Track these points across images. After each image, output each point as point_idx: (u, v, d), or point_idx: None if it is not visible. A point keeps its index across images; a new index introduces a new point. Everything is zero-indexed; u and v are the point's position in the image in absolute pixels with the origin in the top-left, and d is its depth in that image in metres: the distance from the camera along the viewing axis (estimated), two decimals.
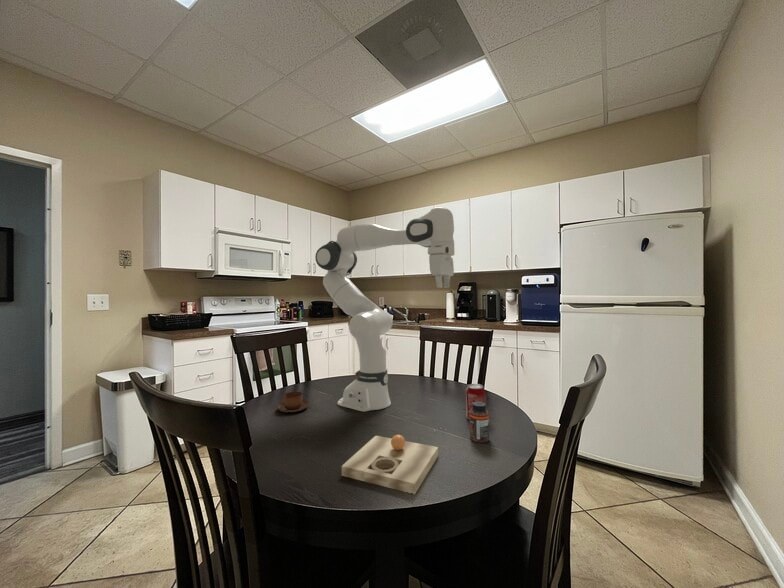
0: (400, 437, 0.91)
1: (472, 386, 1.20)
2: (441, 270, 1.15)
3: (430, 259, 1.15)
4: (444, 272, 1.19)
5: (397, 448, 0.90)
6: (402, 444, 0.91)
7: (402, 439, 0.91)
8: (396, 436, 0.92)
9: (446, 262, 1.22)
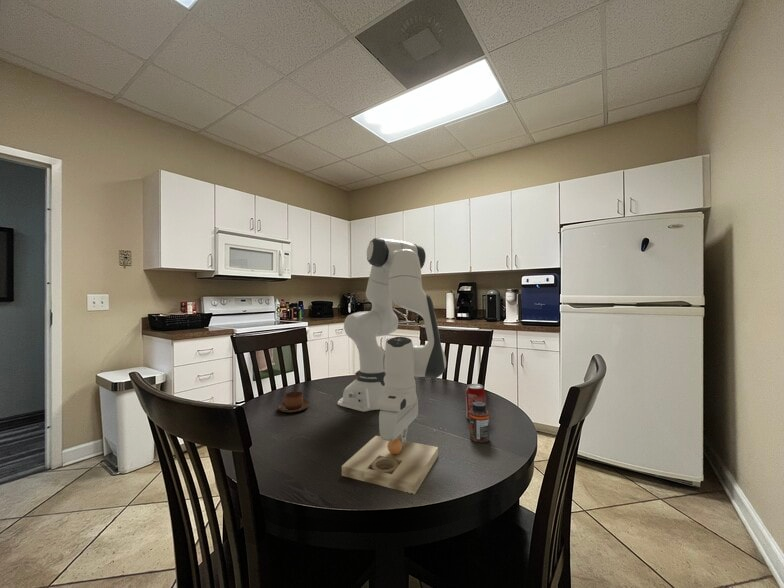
0: (395, 448, 0.88)
1: (472, 386, 1.20)
2: (395, 435, 0.85)
3: (380, 419, 0.86)
4: (401, 431, 0.89)
5: None
6: (399, 451, 0.89)
7: (398, 448, 0.88)
8: (391, 448, 0.88)
9: (405, 411, 0.93)
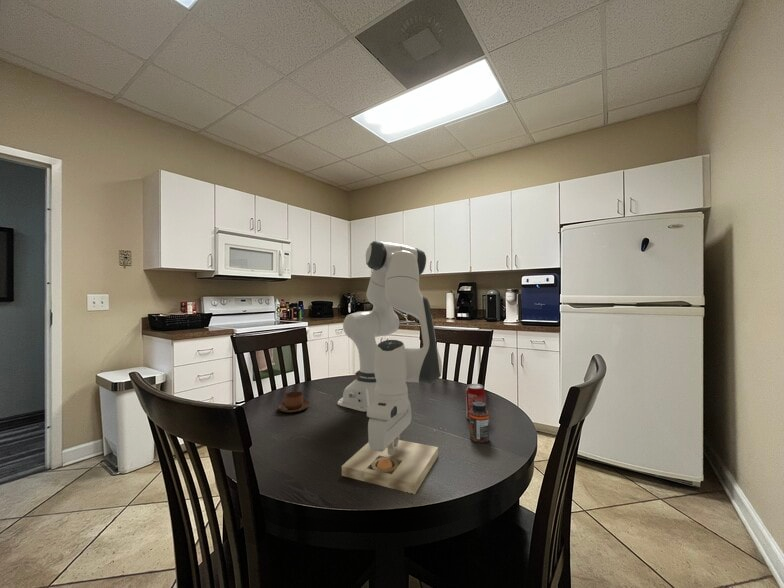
0: (390, 461, 0.85)
1: (472, 386, 1.20)
2: (385, 444, 0.80)
3: (369, 428, 0.80)
4: (391, 440, 0.84)
5: (384, 469, 0.82)
6: (390, 468, 0.83)
7: (391, 464, 0.84)
8: (386, 459, 0.85)
9: (396, 418, 0.87)
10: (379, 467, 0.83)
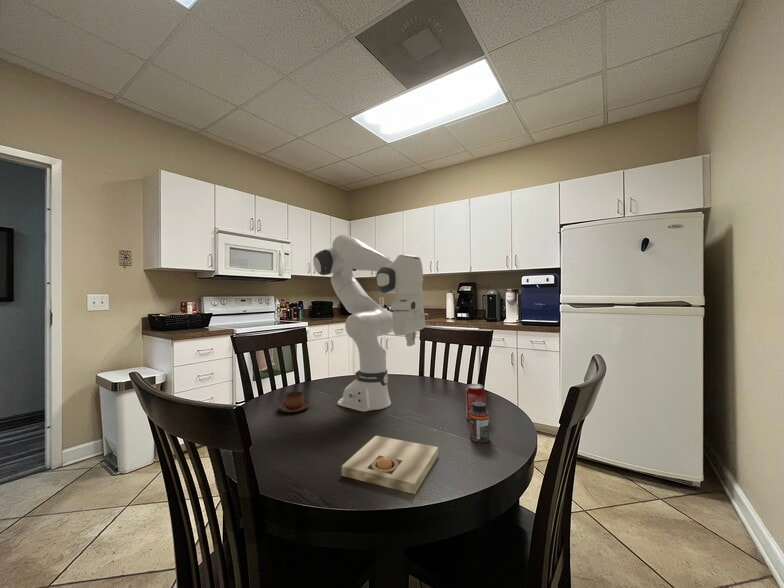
0: None
1: (472, 386, 1.20)
2: (406, 330, 0.99)
3: (393, 317, 1.00)
4: (410, 330, 1.03)
5: (384, 463, 0.83)
6: (390, 464, 0.84)
7: (391, 462, 0.85)
8: None
9: (414, 317, 1.07)
10: (379, 463, 0.84)
